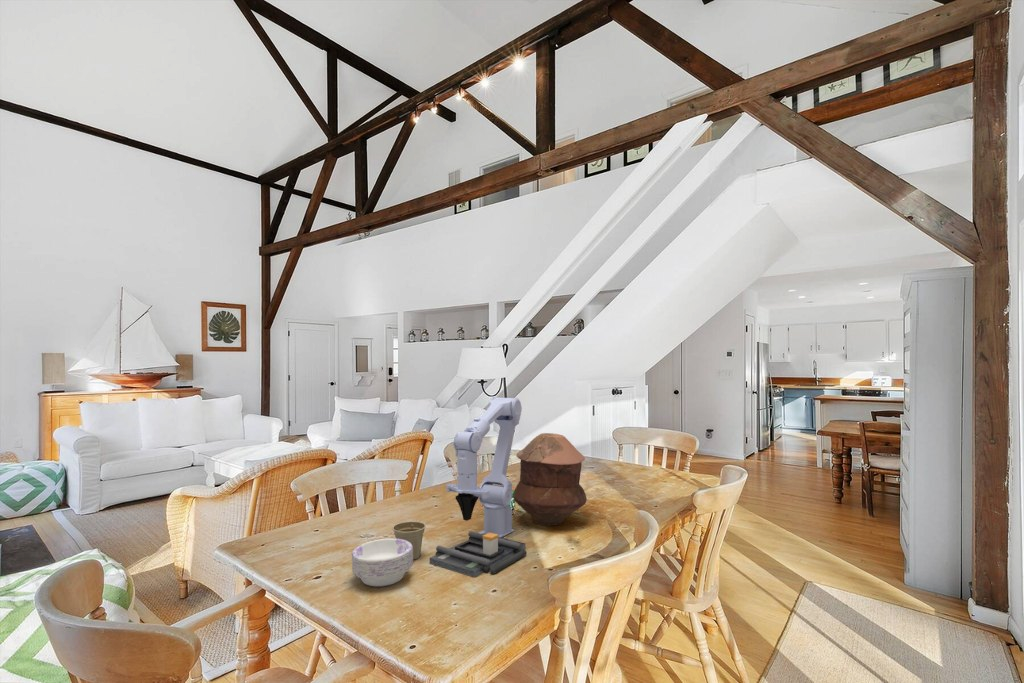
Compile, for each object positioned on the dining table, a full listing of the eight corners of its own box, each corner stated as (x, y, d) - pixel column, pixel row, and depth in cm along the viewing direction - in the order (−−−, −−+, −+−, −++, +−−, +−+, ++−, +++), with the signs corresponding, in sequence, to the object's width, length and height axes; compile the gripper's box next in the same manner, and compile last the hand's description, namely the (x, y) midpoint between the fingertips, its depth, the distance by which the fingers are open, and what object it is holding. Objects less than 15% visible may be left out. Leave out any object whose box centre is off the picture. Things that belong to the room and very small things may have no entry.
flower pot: (390, 553, 147) (390, 523, 147) (422, 548, 150) (422, 519, 151) (394, 565, 138) (394, 533, 139) (428, 560, 142) (428, 529, 142)
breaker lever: (489, 550, 145) (489, 532, 145) (498, 552, 143) (498, 534, 144) (482, 553, 143) (482, 535, 143) (491, 556, 141) (491, 537, 141)
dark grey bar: (471, 540, 158) (471, 529, 158) (521, 553, 147) (521, 542, 147) (467, 541, 156) (467, 531, 156) (517, 555, 145) (517, 544, 145)
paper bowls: (343, 576, 132) (343, 545, 132) (397, 562, 141) (397, 533, 141) (365, 599, 119) (365, 564, 120) (423, 581, 129) (423, 549, 129)
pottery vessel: (501, 514, 183) (501, 431, 184) (563, 506, 193) (563, 427, 194) (532, 538, 159) (532, 442, 160) (601, 527, 169) (601, 437, 170)
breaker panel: (483, 537, 160) (483, 530, 160) (525, 548, 151) (525, 541, 151) (429, 563, 140) (429, 555, 140) (474, 577, 131) (474, 569, 131)
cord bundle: (469, 540, 157) (469, 530, 157) (526, 555, 145) (526, 544, 145) (434, 557, 144) (434, 546, 144) (493, 575, 132) (493, 563, 132)
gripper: (439, 472, 150) (439, 518, 149) (478, 478, 141) (478, 527, 141) (455, 467, 155) (455, 512, 155) (493, 473, 147) (493, 520, 147)
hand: (467, 519), depth 148 cm, fingers closed
